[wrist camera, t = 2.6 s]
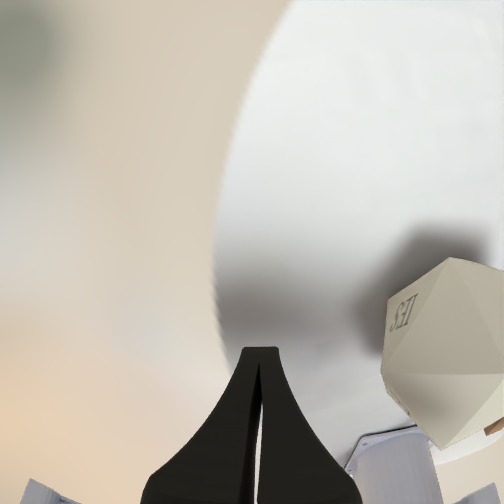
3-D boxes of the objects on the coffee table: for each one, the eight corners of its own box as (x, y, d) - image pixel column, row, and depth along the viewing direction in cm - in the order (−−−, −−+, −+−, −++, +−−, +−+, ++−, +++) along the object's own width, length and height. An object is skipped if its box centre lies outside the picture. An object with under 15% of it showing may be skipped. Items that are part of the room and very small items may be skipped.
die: (385, 204, 13) (330, 430, 8) (555, 211, 8) (560, 450, 3) (399, 291, 18) (361, 437, 14) (516, 299, 13) (497, 453, 9)
